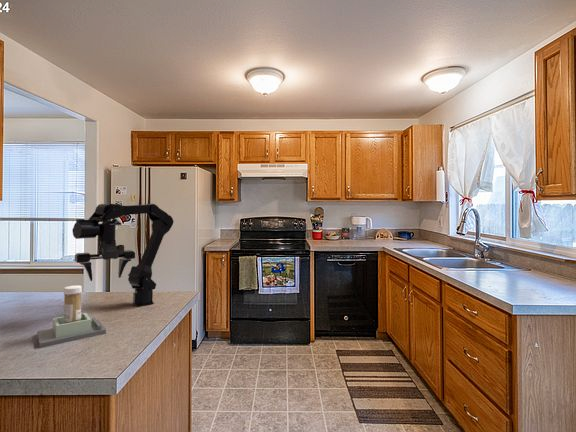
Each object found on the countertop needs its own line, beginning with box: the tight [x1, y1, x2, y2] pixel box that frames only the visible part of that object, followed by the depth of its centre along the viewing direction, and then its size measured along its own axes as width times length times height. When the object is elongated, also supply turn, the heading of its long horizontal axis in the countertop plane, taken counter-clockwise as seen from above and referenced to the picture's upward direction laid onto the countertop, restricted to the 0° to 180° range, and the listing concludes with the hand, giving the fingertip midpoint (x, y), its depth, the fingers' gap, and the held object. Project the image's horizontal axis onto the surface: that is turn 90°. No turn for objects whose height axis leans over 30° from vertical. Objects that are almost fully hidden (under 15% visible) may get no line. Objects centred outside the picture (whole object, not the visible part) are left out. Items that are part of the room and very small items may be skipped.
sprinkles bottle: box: [63, 284, 83, 324], centre depth 93 cm, size 5×5×14 cm
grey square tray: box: [36, 312, 107, 348], centre depth 93 cm, size 16×12×5 cm
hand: (105, 279), depth 112 cm, fingers open, 9 cm apart
